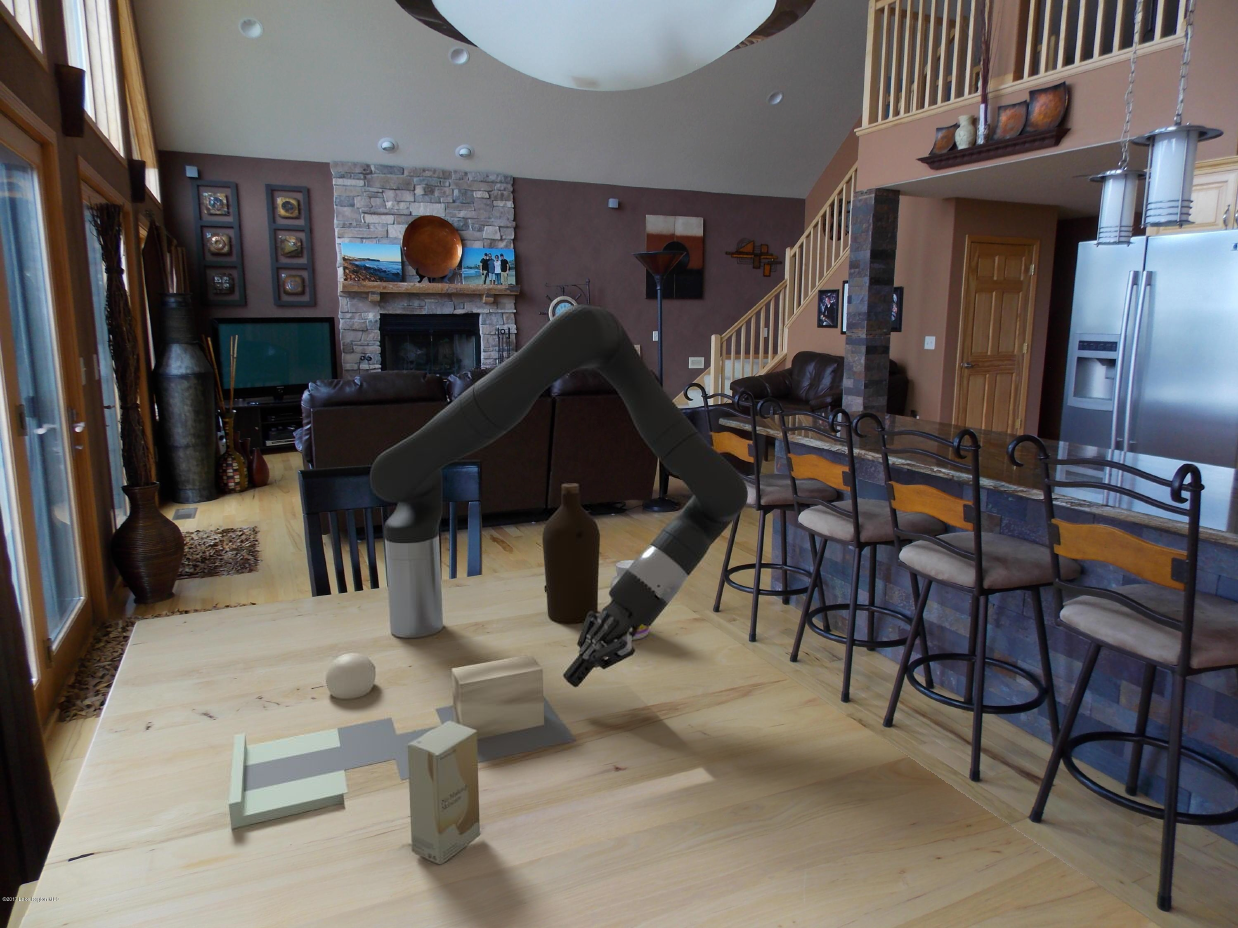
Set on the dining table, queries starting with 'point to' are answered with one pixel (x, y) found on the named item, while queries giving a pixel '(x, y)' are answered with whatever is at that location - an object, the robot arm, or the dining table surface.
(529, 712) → the birch block
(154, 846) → the dining table surface
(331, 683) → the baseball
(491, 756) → the board
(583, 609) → the olive oil
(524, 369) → the robot arm
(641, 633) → the supplement bottle
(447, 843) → the skincare box
